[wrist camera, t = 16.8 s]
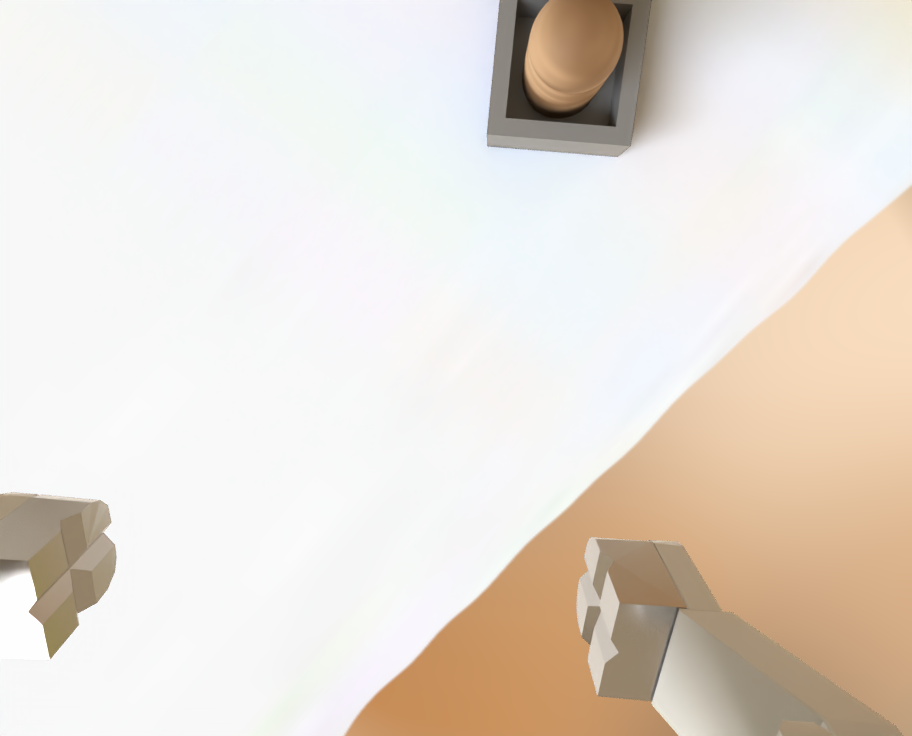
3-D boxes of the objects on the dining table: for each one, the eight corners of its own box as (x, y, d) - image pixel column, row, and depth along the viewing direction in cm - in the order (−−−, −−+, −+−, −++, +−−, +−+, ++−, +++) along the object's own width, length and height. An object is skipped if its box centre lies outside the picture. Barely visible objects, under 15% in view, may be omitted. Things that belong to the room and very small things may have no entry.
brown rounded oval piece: (519, 117, 35) (528, 79, 27) (524, 33, 34) (536, -33, 26) (595, 120, 35) (628, 82, 27) (603, 36, 34) (640, -30, 26)
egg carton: (487, 146, 36) (487, 134, 33) (514, -135, 33) (516, -181, 30) (617, 156, 36) (630, 146, 33) (656, -127, 33) (676, -171, 29)
